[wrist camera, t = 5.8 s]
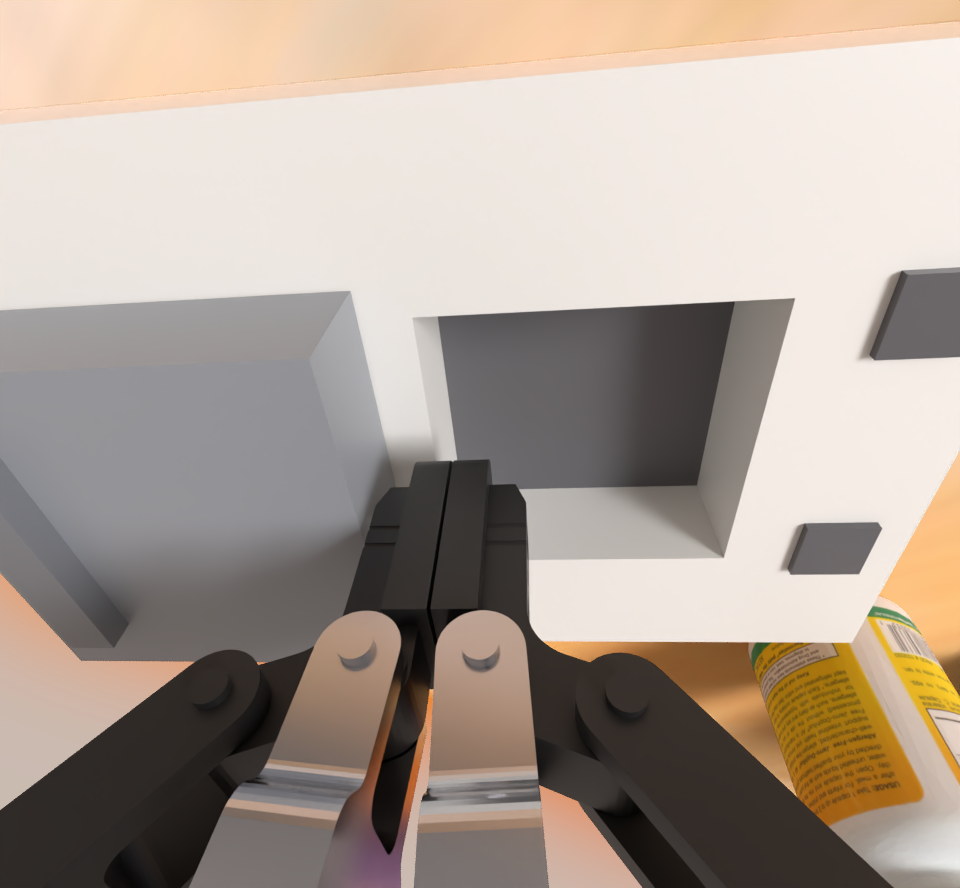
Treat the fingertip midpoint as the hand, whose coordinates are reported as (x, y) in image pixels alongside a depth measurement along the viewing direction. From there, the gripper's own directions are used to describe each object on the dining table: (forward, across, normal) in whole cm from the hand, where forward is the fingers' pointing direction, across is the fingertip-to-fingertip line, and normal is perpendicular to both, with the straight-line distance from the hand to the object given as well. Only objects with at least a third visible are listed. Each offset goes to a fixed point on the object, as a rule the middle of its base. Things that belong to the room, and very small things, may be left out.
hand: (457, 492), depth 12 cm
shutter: (+1, +6, 0) cm, 6 cm away
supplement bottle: (+4, -12, +11) cm, 17 cm away
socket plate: (+4, 0, 0) cm, 4 cm away
